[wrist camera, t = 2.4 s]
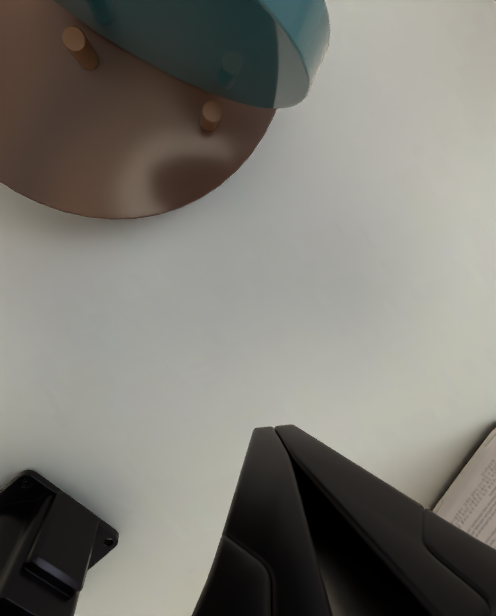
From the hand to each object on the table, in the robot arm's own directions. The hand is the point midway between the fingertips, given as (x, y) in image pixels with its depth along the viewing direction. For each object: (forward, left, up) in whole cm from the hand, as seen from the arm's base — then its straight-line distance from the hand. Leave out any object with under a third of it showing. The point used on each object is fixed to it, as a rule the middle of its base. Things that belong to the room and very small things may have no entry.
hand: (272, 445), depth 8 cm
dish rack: (+4, +11, -11) cm, 16 cm away
